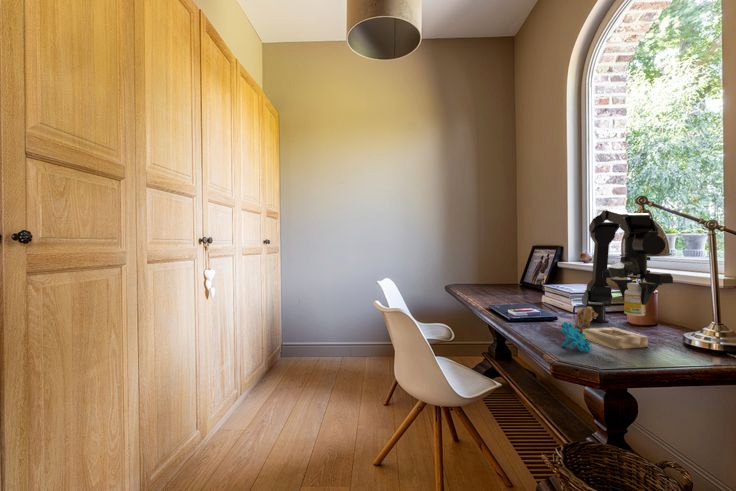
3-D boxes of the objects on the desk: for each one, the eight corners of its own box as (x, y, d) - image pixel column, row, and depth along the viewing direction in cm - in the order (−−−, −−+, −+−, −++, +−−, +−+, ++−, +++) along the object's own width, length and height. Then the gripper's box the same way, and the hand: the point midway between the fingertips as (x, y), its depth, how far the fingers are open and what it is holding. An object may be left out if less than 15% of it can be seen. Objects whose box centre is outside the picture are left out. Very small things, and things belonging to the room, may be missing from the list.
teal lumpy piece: (581, 350, 100) (558, 320, 106) (565, 361, 103) (543, 331, 109) (600, 349, 106) (577, 320, 112) (584, 359, 109) (562, 331, 115)
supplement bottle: (634, 312, 116) (635, 282, 116) (650, 315, 111) (650, 284, 111) (619, 312, 115) (620, 282, 115) (634, 316, 110) (635, 284, 110)
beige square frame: (612, 336, 121) (612, 327, 121) (647, 346, 109) (647, 336, 109) (582, 338, 118) (582, 329, 118) (614, 349, 106) (615, 339, 106)
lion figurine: (599, 334, 123) (599, 308, 123) (581, 333, 125) (582, 307, 124) (583, 324, 138) (584, 300, 137) (568, 323, 139) (569, 300, 139)
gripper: (589, 252, 120) (588, 299, 120) (644, 255, 102) (643, 310, 102) (616, 252, 123) (615, 298, 123) (675, 254, 104) (673, 308, 105)
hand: (634, 303), depth 113 cm, fingers closed on supplement bottle, 5 cm apart
